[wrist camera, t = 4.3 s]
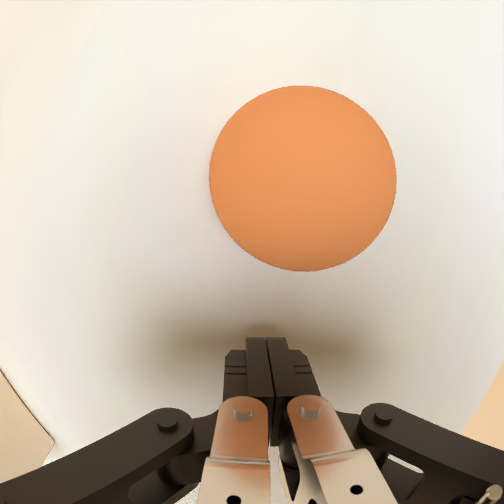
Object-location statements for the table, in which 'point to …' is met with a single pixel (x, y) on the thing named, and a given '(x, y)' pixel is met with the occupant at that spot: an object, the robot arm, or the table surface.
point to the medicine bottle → (19, 436)
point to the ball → (302, 178)
